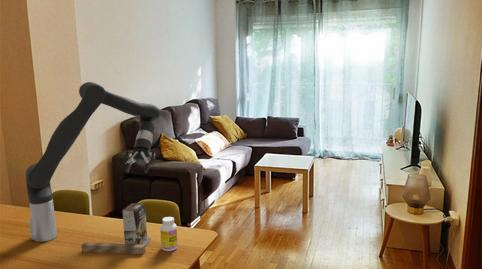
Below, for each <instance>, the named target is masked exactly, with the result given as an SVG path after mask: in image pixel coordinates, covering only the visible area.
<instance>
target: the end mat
mask: <svg viewBox="0 0 482 269" xmlns="http://www.w3.org/2000/svg"><path fill="white" fill-rule="evenodd" d="M151 240H152V238H151V237H147V239H146V240H145V241H144V242H143V243H142V245H145V248H146V247H147V245H148V244H149V242H150V241H151Z"/></svg>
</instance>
